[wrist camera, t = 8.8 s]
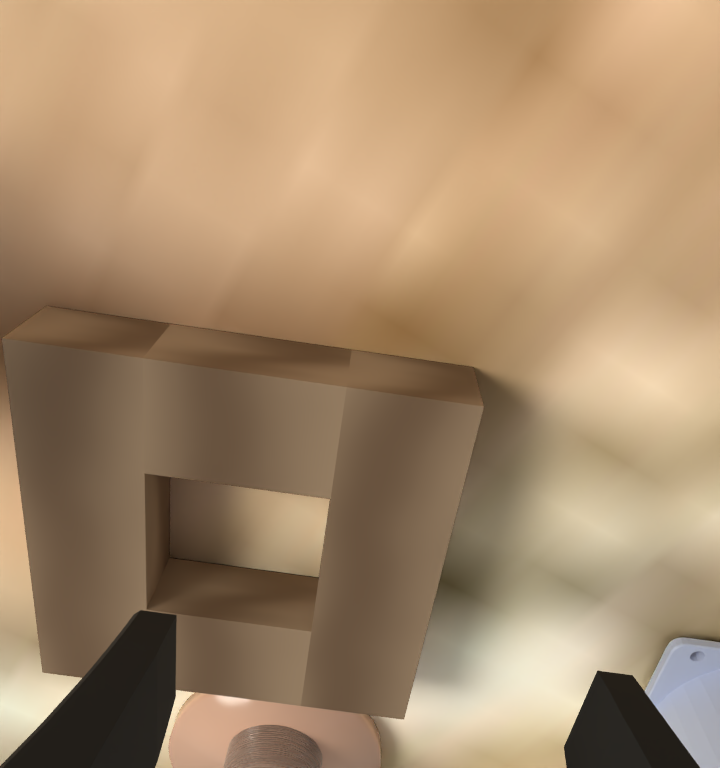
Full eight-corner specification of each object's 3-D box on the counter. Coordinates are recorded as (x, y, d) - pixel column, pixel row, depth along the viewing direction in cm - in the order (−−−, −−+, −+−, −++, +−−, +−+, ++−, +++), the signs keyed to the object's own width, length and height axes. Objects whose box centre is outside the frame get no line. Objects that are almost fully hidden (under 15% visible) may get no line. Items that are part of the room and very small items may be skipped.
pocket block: (473, 367, 20) (483, 406, 18) (402, 661, 26) (403, 719, 23) (46, 305, 20) (1, 338, 17) (73, 618, 25) (42, 672, 23)
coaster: (396, 687, 26) (396, 704, 26) (365, 817, 30) (364, 835, 30) (174, 658, 26) (169, 675, 25) (173, 792, 30) (168, 810, 30)
